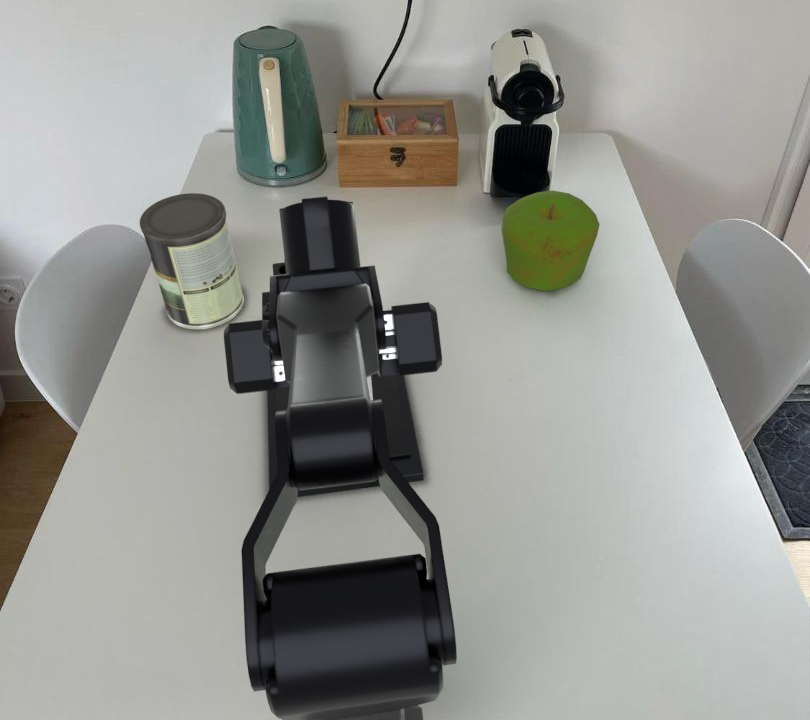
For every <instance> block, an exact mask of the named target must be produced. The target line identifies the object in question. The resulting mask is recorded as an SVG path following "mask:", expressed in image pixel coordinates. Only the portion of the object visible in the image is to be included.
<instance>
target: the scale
mask: <svg viewBox="0 0 810 720" xmlns="http://www.w3.org/2000/svg"><path fill="white" fill-rule="evenodd" d="M371 382H372V394H373V400H378V399H381V400H382V405H383V411H384V418H385V426H386V434H387V441H388V449H389V457H390V460H391V461H392V463H393V464H394V465H395V466H396V468H397V469H398V470H399V472H400V473H401V474H402V475H403V477H404V478H405V479H406V480H407V482H408V483H414V482H423V481H424V480H425V473H424V467H423V464H422V457H421V453H420V448H419V443H418V438H417V433H416V428H415V423H414V419H413V414H412V409H411V404H410V398H409V394H408V388H407V383H406V379H405V375H403V376H399V375H398V376H389V377H380V376H379V375H378V373H376V374H374V375H371ZM289 390H290V388H282V389H276V390H270V391H266V397H267V398H266V400H267V401H266V405H267V406H266V407H267V409H266V410H267V453H268V456H267V457H268V459H267V461H268V490H269V489H270V487H271V485H272V483H273V481H274V479H275V477H276V476H277V473H278V466H277V450H276V434H275V414H276V411H281V410H287V408H288V400H289ZM377 487H381V486H380V484H379V477H378V478H377V480H376V481H373V482H365V483H356V484H348V485H340V486H332V487H323V488H315V489H307V490H299V489H298V495H297V498H303V497H309V496H316V495H325V494H331V493H338V492H348V491H355V490H363V489H369V488H377Z"/></svg>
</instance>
